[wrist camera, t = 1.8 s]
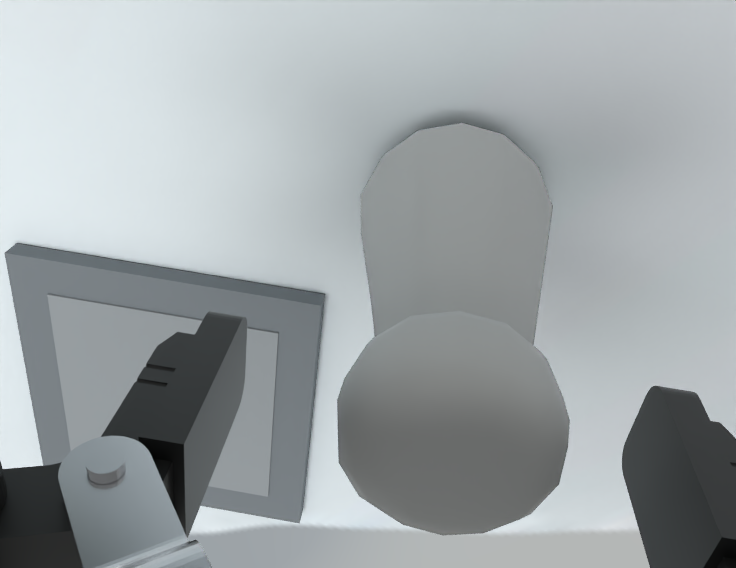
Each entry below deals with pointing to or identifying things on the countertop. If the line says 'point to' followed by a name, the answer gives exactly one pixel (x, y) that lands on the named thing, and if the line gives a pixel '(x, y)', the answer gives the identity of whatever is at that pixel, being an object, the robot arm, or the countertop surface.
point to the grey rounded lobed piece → (454, 338)
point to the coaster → (136, 345)
